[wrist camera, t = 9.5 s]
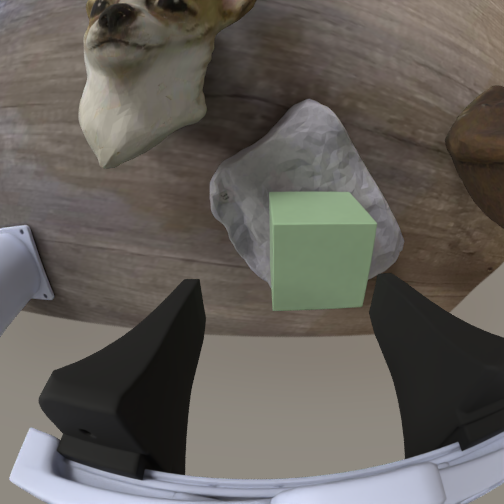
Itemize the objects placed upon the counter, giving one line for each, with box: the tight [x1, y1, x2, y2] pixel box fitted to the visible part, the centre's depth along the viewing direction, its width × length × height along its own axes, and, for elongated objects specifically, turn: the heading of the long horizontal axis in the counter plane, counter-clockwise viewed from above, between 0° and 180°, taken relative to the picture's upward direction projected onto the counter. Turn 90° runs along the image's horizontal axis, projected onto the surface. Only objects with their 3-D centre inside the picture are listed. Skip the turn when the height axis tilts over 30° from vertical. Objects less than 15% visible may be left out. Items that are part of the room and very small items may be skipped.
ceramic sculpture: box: [79, 0, 256, 169], centre depth 11 cm, size 11×9×15 cm
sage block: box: [269, 192, 377, 311], centre depth 15 cm, size 4×4×4 cm
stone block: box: [210, 99, 404, 287], centre depth 19 cm, size 12×5×10 cm
